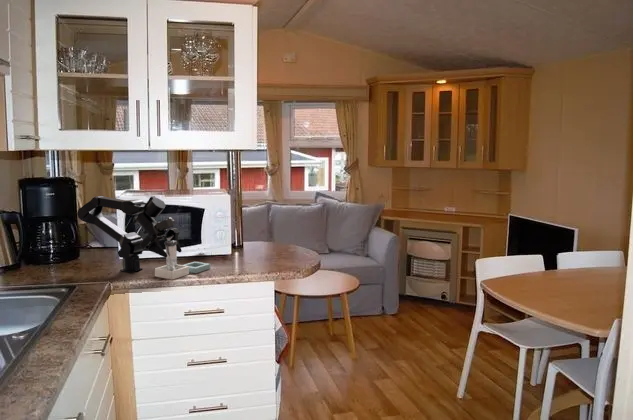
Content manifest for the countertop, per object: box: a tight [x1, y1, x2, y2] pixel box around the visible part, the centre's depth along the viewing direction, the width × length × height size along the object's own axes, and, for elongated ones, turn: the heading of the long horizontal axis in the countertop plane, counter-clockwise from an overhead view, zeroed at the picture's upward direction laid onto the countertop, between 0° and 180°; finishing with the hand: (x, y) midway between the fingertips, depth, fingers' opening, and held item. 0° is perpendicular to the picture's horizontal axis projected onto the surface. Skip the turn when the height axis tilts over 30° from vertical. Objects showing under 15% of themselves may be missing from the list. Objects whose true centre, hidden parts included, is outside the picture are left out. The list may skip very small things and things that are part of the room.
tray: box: [154, 263, 190, 280], centre depth 205 cm, size 10×10×3 cm
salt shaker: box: [164, 240, 178, 271], centre depth 204 cm, size 5×5×13 cm
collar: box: [183, 261, 211, 274], centre depth 213 cm, size 9×9×2 cm
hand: (173, 254), depth 203 cm, fingers open, 9 cm apart
